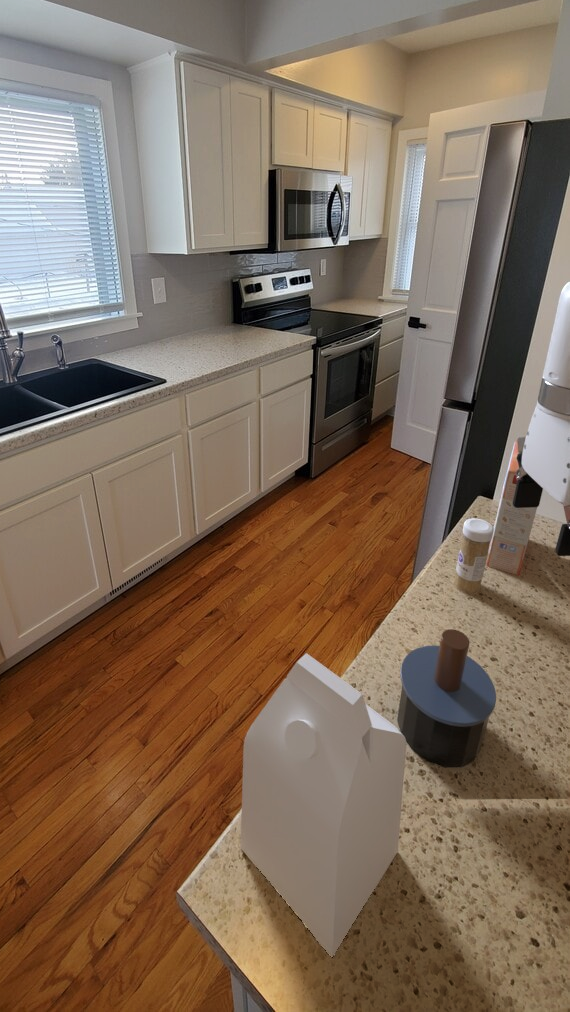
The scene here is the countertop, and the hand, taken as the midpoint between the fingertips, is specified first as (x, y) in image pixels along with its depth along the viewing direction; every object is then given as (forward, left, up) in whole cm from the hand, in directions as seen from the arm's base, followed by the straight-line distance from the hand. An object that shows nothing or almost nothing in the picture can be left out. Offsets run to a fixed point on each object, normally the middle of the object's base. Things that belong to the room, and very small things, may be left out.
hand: (545, 528), depth 59 cm
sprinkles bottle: (-1, -18, -26) cm, 31 cm away
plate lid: (+13, +8, -17) cm, 23 cm away
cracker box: (-13, -28, -26) cm, 40 cm away
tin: (+13, +8, -26) cm, 30 cm away
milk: (+30, +21, -26) cm, 44 cm away
